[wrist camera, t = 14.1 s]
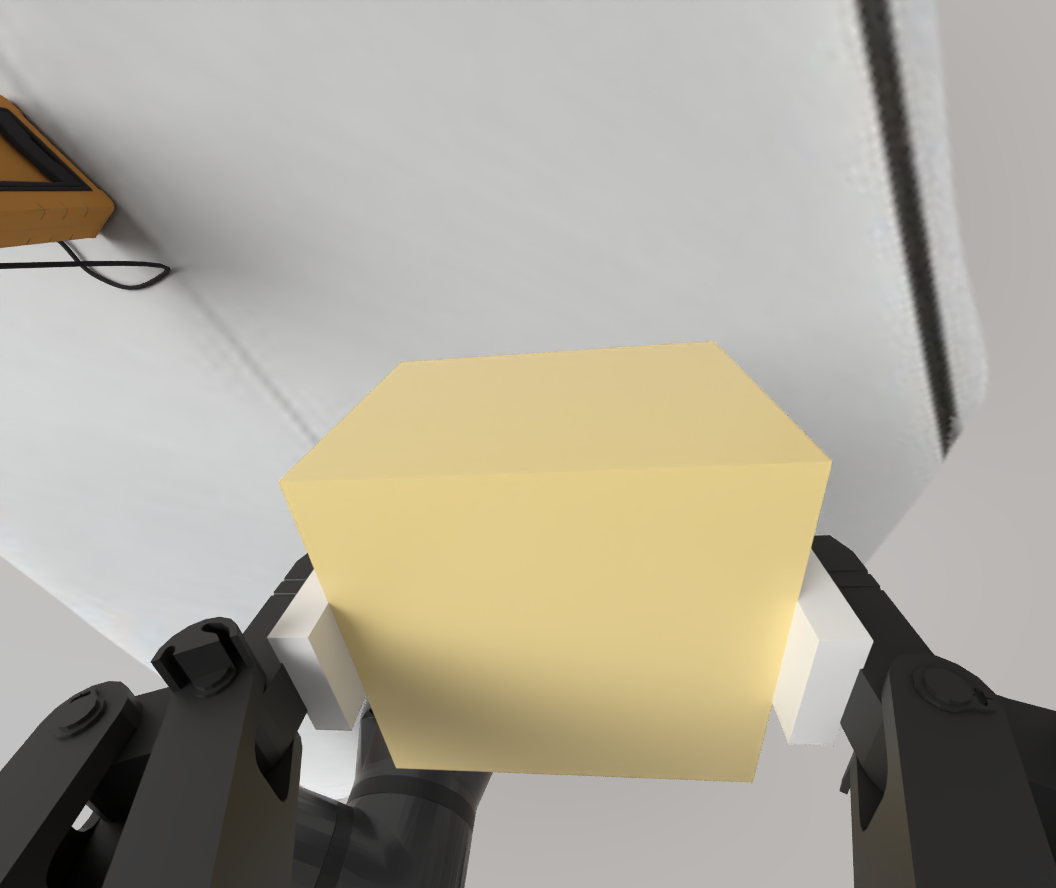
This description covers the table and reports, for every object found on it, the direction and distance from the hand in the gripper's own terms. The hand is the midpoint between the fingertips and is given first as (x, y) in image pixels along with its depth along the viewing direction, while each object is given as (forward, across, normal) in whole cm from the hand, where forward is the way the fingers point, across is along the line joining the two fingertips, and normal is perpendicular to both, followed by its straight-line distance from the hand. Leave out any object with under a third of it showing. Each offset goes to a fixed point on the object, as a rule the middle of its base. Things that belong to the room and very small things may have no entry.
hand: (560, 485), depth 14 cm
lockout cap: (0, 0, 0) cm, 0 cm away
